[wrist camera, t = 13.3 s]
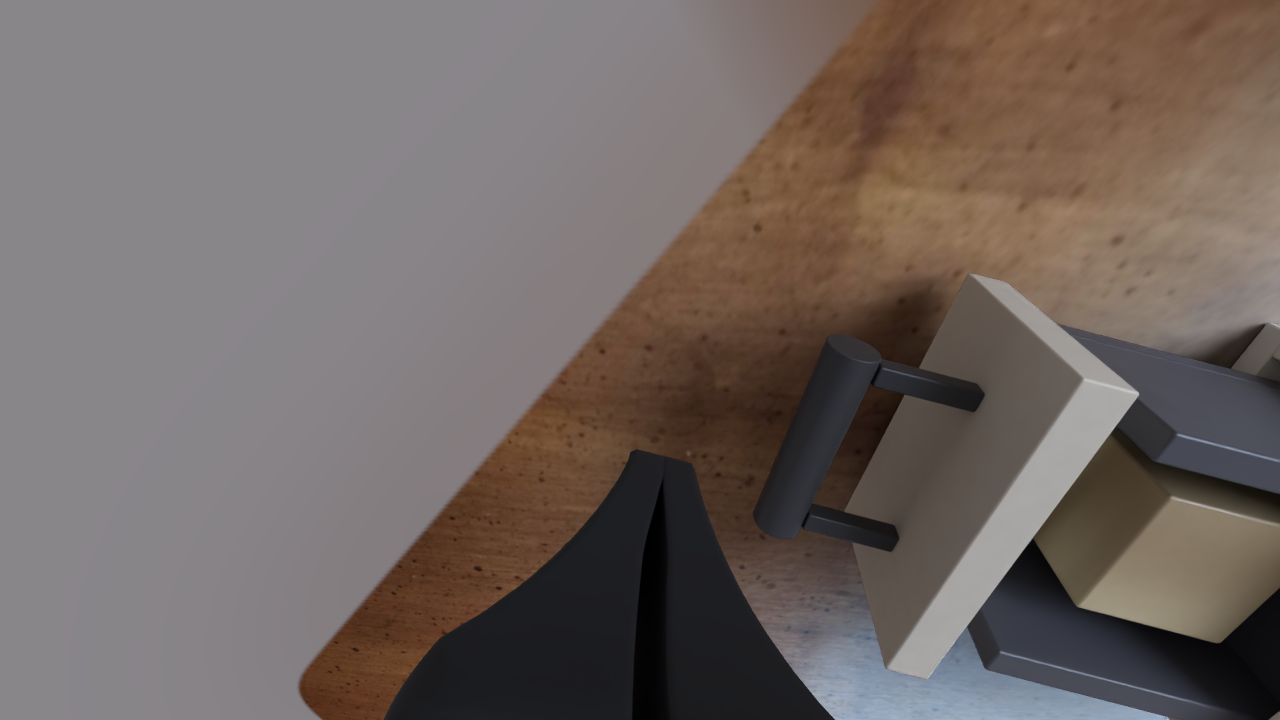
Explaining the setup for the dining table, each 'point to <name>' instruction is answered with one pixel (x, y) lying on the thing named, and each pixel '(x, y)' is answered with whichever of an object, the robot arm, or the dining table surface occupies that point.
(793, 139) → the dining table surface
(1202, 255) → the dining table surface
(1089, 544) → the block
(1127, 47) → the dining table surface
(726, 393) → the dining table surface
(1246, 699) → the drawer
